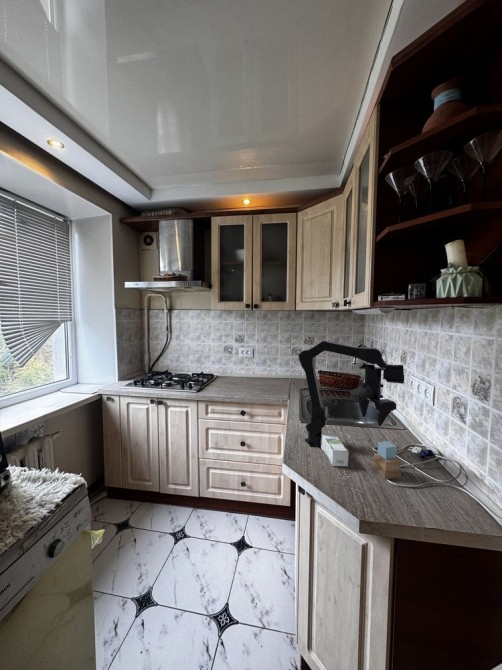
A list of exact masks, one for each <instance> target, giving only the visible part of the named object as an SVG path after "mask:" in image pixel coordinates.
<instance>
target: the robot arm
mask: <svg viewBox="0 0 502 670" xmlns="http://www.w3.org/2000/svg"><path fill="white" fill-rule="evenodd" d="M323 352H329V353H335V354H338V355H344V356H350V357H354V358H355V359H358V360H360V361H362V362H363V363H362V364H361V365H359V369H363V370H364V381H362V382H361V384H360V385H361V386H359V387H357V388H355V389H352V390H350V391H349V394H350V397H351V400H352V401H355V402H356V403H357V404H358V407H359V410H360V413H361V417H362V418H365V417H366V415H367V412H368V409H369V408H368V407H369V404H370V402H372V403H374V407H375V408H374V407H373V408H374V410H375V411H376V412H377V413H376V415H377V425H378V427H381V426H382V425H383V424H384V422H385V421H386V419H387V417H388V416H389V414H390V413H391V412H394V411H396V410H397V403H396V401H393V400H391V399H389V398H384V395H383V394H381V393H382V390H381V389H382V388H384V384H383V383H382V379H383V380H385V382H386V383H391V384H403V385H404V384H405V371H404V370H405V369H404V365H403V364H388V363H387V361H385V360H384V358H383V355H382V351H381V350H380V349H378V348H377V347H371V346H370V347H367V346H366V347H365V346H364V347H362V346H361V347H359V346H358V347H357V346H353V345H348V344H342V343H337V342H331V341H328V340H322V341H320V342H319V343H318V344H317V345H314V346H313V347H311V348H310V349H305V350H302V351H301V352H300V353H299V354H298V360H299V362H300V363H299V364H300V365H301V368H302V369H303V371H304V374H305V378H306V382H307V389H308V393H309V399H310V403H311V411H310V412H311V413H310V416H311V418H310V419H309V420H308V422H307V423H306V425H305V428H306V432H307V438H304V442H306V444H308V446H309V447H321V434H323V433H322V432H323V428H325V426H326V424H327V422H328V420H329V417H330V413H329V409H328V406H327V405H326V406H325V405H324V404H323V401H322V398H321V392H320V391H321V390H320V387H319V383H318V377H317V373H316V365H317V364H316V363H317V359H316V357H317V356H319V355H320V354H322V353H323ZM377 366H378V367H377Z"/></svg>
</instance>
